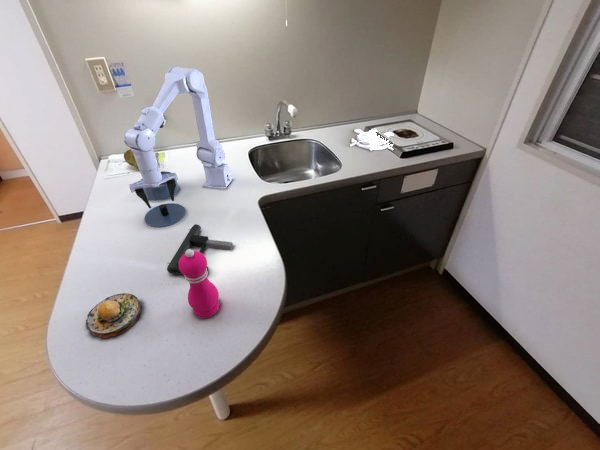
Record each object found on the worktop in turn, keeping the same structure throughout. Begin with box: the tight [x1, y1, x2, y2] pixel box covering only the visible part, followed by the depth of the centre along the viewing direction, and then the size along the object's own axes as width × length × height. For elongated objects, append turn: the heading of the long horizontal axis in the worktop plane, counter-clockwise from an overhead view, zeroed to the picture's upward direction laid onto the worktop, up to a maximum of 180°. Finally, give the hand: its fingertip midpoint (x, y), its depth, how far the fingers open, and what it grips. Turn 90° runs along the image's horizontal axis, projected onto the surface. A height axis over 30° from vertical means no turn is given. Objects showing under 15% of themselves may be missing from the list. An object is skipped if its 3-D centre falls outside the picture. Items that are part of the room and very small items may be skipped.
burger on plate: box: [85, 292, 143, 339], centre depth 73 cm, size 12×12×8 cm
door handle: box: [166, 223, 234, 275], centre depth 92 cm, size 3×20×16 cm
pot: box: [140, 170, 180, 202], centre depth 118 cm, size 13×13×6 cm
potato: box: [123, 149, 139, 170], centre depth 134 cm, size 8×13×8 cm, turn 60°
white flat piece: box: [349, 128, 395, 152], centre depth 159 cm, size 21×28×1 cm
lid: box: [144, 202, 187, 228], centre depth 106 cm, size 14×14×5 cm
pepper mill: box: [179, 248, 220, 319], centre depth 71 cm, size 7×7×20 cm
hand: (161, 203), depth 104 cm, fingers open, 7 cm apart
